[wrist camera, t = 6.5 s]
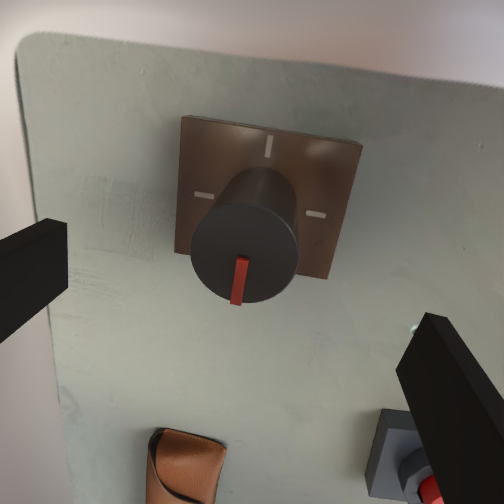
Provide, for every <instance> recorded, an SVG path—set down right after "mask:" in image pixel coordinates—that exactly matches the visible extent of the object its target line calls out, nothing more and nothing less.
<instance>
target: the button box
mask: <svg viewBox="0 0 504 504" xmlns="http://www.w3.org/2000/svg"><path fill="white" fill-rule="evenodd" d="M432 474H433V472H432V469H431V466H430V464H429V461H428V458H427V455H426V453H425V450H424V447H423V444H422V442H421V439H420V436H419V433H418V431H417V428H416V425H415V422H414V420H413V417H412V414H411V412H406V411H397V410H388V409H382V413H381V416H380V420H379V424H378V428H377V432H376V435H375V439H374V443H373V447H372V451H371V455H370V458H369V462H368V466H367V470H366V474H365V479H366V484H367V489H368V494H369V497H375V498H383V499H390V500H398V501H406V502H408V504H424V502H423V499H422V496H421V493H420V484H421V482H422V481H423V480H425V479H426V478H428V477H429V476H430V475H432Z"/></svg>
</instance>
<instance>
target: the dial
mask: <svg viewBox="0 0 504 504" xmlns="http://www.w3.org/2000/svg"><path fill="white" fill-rule="evenodd" d="M190 256H191V261H192V265H193V267H194V270H195V272H196V274H197V275H198V277H199V279H200V280H201V281H202V283H203V284H204V285H205V286H206V287H207V288H209V289H210V290H211V291H212V292H214V293H215V294H217V295H218V296H220V297H222V298H225V299H227V300H230V304H234V305H239V306H241V304H242V303H255V302H261V301H264V300H267V299H270V298H272V297H274V296H276V295H277V294H279V293H280V292H281V291H283V290H284V289H285V288H286V287H287V286H288V285H289V283H290V282H291V281H292V279H293V277H294V275H295V273H296V271H297V267H298V263H299V239H298V218H297V200H296V195H295V192H294V189H293V187H292V186H291V184H290V183H289V181H288V180H287V179H286V178H285V177H284V176H283V175H281V174H280V173H278V172H276V171H274V170H272V169H268V168H261V167H259V168H250V169H247V170H245V171H242V172H241V173H239V174H238V175H236V176H235V177H234V178H233V179H232V180H231V181H230V183H229V184H228V185H227V187H226V188H225V189H224V191H223V192H222V193H221V194H220V196H219V197H218V198H217V200H216V201H215V202H214V204H213V205H212V206H211V208H210V209H209V210H208V211H207V213H206V214H205V215H204V217H203V218H202V219H201V221H200V222H199V223H198V225H197V226H196V228H195V230H194V232H193V235H192V238H191V244H190Z"/></svg>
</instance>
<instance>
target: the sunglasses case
mask: <svg viewBox="0 0 504 504" xmlns="http://www.w3.org/2000/svg"><path fill="white" fill-rule="evenodd" d="M226 450H227V449H226V447H224V446H223V445H222V444H221V443H219V442H216V441H213V440H210V439H208V438H205V437H202V436H198V435H195V434H191V433H186V432H182V431H178V430H173V429H168V428H165V429H161V430H159V431H157V432H156V433H154V434H153V435H152V437H151V438H150V441H149V444H148V459H147V474H146V504H214V502H215V496H216V490H217V485H218V480H219V475H220V472H221V469H222V465H223V461H224V458H225V454H226Z"/></svg>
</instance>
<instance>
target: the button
mask: <svg viewBox="0 0 504 504" xmlns="http://www.w3.org/2000/svg"><path fill="white" fill-rule="evenodd" d="M420 493H421V496H422V499H423V502H424V504H444V502H443V499H442V496H441V494H440V491H439V488H438V485H437V483H436V480H435V477H434V474H432V475H430V476H429V477H428V478H426V479H425V480H423V481H422V482H421V484H420Z"/></svg>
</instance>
